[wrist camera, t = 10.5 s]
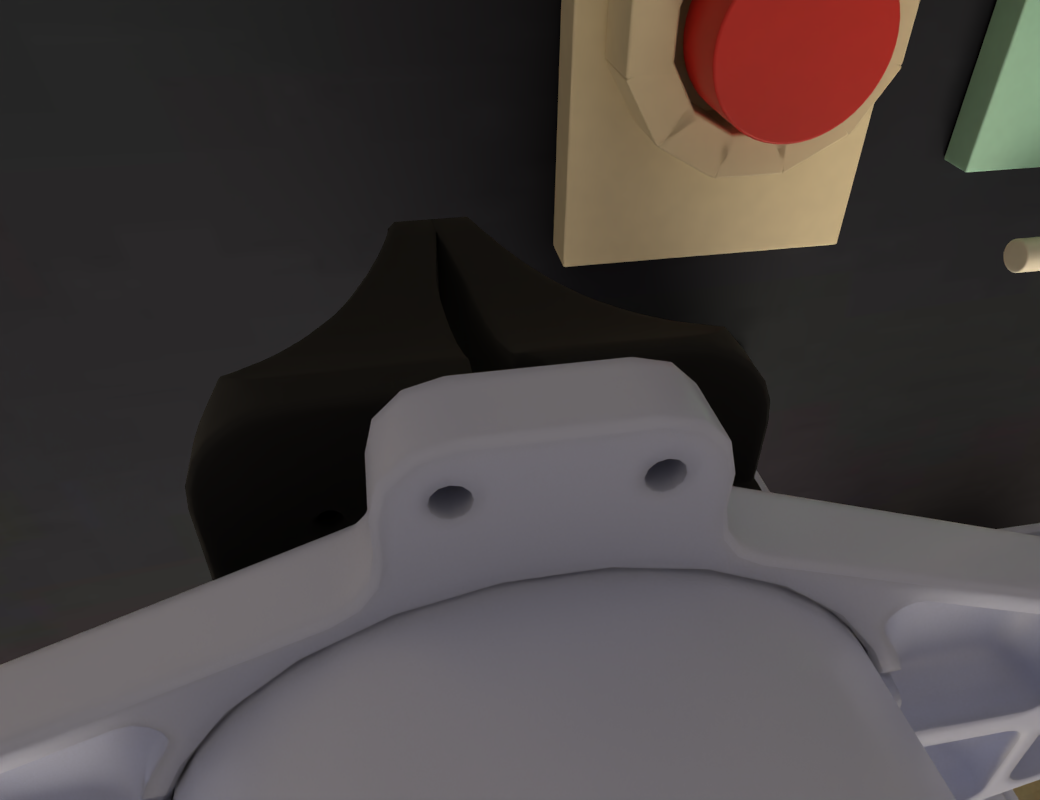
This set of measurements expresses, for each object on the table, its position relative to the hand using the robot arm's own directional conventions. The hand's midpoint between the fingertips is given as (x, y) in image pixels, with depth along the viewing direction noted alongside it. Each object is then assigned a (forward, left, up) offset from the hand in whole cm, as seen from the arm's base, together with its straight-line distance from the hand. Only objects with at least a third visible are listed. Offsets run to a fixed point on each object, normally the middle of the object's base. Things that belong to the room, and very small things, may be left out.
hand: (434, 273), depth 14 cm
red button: (+2, -9, -7) cm, 12 cm away
